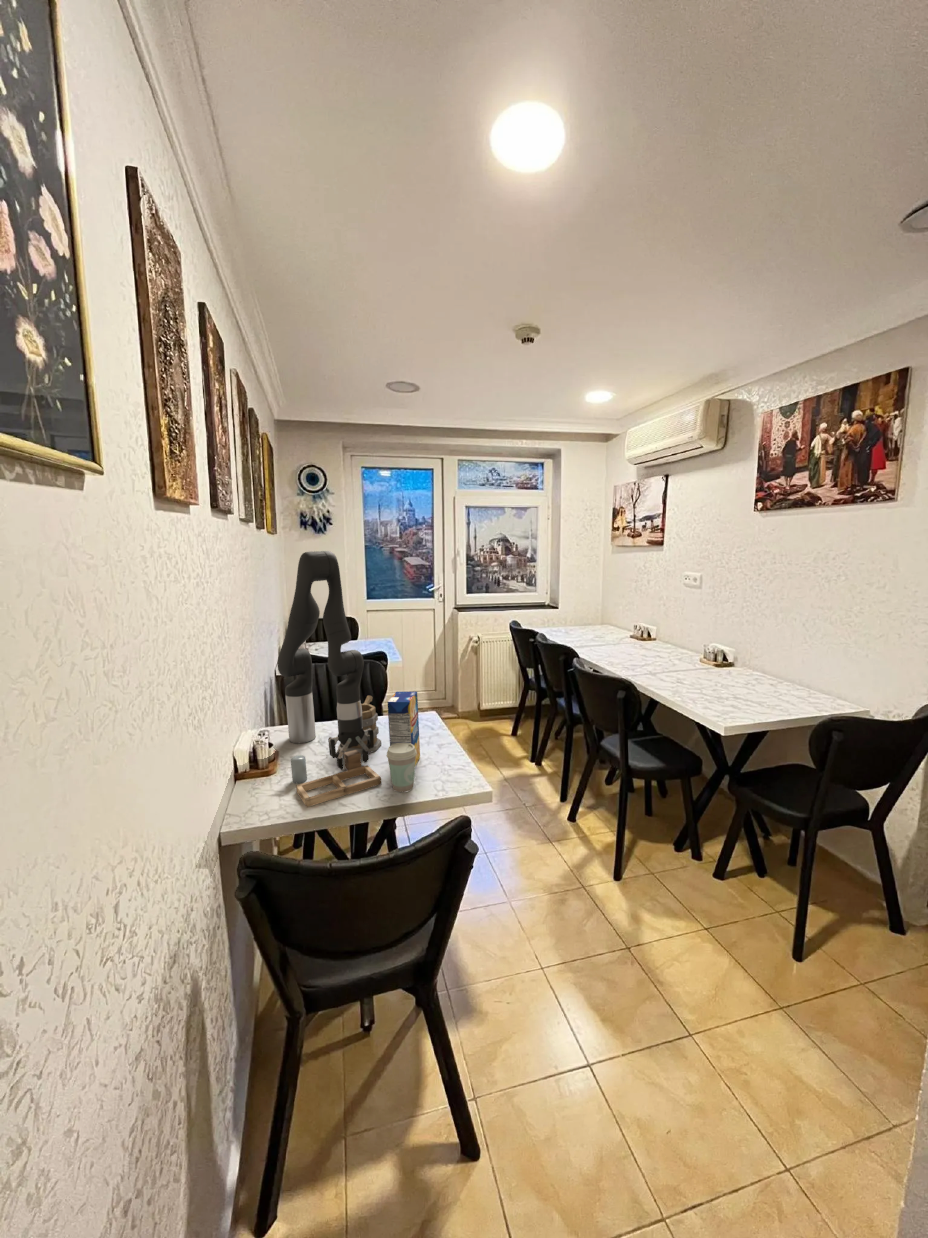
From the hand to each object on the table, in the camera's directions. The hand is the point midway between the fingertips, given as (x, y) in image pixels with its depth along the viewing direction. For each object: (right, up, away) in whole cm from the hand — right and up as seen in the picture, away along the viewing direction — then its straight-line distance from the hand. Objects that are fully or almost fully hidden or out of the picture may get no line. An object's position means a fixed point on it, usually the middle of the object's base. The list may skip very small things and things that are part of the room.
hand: (353, 765), depth 154 cm
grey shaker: (-14, -2, -7) cm, 16 cm away
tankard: (0, +2, +20) cm, 20 cm away
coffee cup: (+17, -3, -13) cm, 22 cm away
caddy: (-1, -3, -12) cm, 13 cm away
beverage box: (+16, 0, +3) cm, 17 cm away
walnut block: (0, -1, 0) cm, 1 cm away
